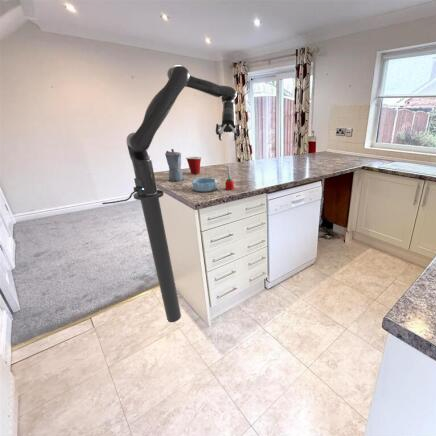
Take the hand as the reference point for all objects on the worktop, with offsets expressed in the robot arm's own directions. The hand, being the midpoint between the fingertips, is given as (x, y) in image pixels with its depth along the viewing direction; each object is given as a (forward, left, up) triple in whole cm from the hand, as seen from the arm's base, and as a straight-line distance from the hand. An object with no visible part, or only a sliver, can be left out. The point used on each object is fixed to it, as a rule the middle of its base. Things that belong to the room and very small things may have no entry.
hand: (227, 139), depth 146 cm
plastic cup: (+10, +41, -28) cm, 50 cm away
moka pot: (-10, +38, -28) cm, 48 cm away
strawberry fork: (-7, -5, -28) cm, 29 cm away
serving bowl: (-15, +7, -28) cm, 32 cm away
